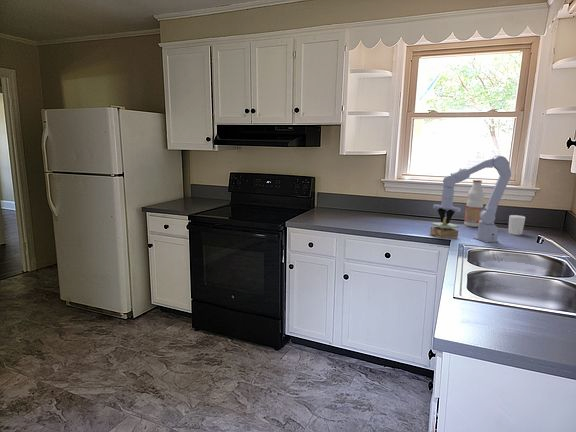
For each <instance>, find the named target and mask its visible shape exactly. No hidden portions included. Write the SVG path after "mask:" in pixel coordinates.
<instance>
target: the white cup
mask: <svg viewBox="0 0 576 432" xmlns="http://www.w3.org/2000/svg"><path fill="white" fill-rule="evenodd" d="M508 218H509V219H508V234H509V235H514V236H522V235H523V231H524V227H525V221H526V216H524V215H517V214H510V215H509V217H508Z"/></svg>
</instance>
